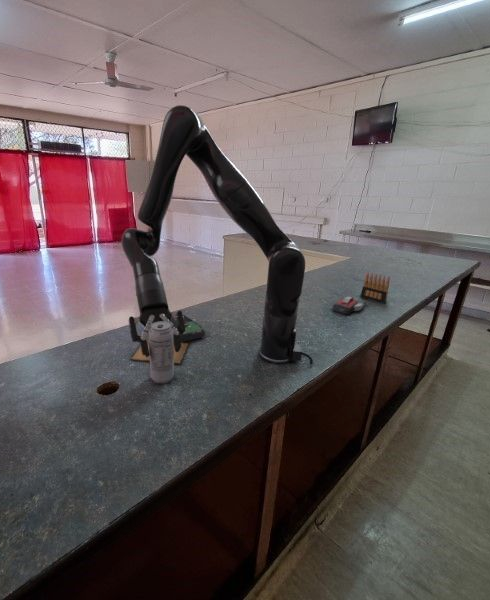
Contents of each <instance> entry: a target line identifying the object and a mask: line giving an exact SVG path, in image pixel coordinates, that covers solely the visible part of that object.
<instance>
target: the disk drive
mask: <svg viewBox="0 0 490 600" xmlns="http://www.w3.org/2000/svg"><path fill="white" fill-rule="evenodd" d="M182 315H183V320H184V325H185V332H184V333H183V335H180V336H179V338H180V342H181V343H183V342H186V341H190V340H194V339H198V338H203V337H205V335H206V330H205V329H204V328H203V326H201V325H199V324H198V323H197V322H195V321H194V320H193V319H192V318H189V316H187V315H185V314H182ZM170 322H171V323H172V324H173V325H174V327H175V328H176V329H177V330H178V326H177V321H175V320H174V318H173V317H171V319H170Z"/></svg>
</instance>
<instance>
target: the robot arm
mask: <svg viewBox="0 0 490 600" xmlns="http://www.w3.org/2000/svg"><path fill="white" fill-rule="evenodd" d="M186 156H187V157H188V158H189V160H190V161H191V162H192V163H193V164H194V165H195V167H196V168H197V169H198V170H199V171H200V173H201V174H202V176H203V178H204V179H205V182H206V183H207V186H208V188H209V190H210V191H211V194H212V195H213V197H214V198H215V200H216V201H217V203H218V205H220V207H221V208H222V210H223V211H224V212H225V213H226V215H227V216H228V217H229V218H230V219H231V220H232V222H234V223H235V224H236V225H237V226H238V227H239V228H240V229H242V230H243V232H245V233H246V234H247V235H248V236H250V237H251V239H253V241H254V242H255V243H256V244H257V246H258V247H259V249H260V250H261V251H262V253H263V255H264V256H265V258H266V260H267V261H268V265H267V266H268V267H267V279H266V287H265V299H264V306H263V307H264V308H263V317H262V318H263V320H262V330H261V338H260V348H259V356H260V357H261V358H262V359H263V360H265V361H267V362H268V363H273V364H285V363H292V362H293V361H299V362H301V361H302V356H304V357H306V358H307V359H308V360H309V364H310V365H313V364H314V361H313V358H312V356H311V355H309V354H308V353H306V352H303V351H302V346H301V344H298V343H297V344H296V337H297V329H296V326H297V320H298V319H297V318H298V312H299V304H300V300H301V299H300V298H301V296H302V291H303V285H304V279H305V274H306V273H305V272H306V257H305V255H304V253H303V251H302V249H301V248H300V247H299V246H298V245H297V244H296V243H295V242H293V240H292V239H291V238H290V237H289V236H288V235H287V234H286V233H285V232H284V230H283V229H282V228H281V227H280V226H279V225H278V224H277V222H276V221H275V219H274V218H273V216H272V215H271V213H270V211H269V209H268V207H267V206H266V204H265V202H264V201H263V199H262V198H261V196H260V195H259V193H258V192H257V190H256V189H255V188H254V186H253V185H252V183H250V182H249V180H248V179H247V178H246V176H245V175H244V174H243V173H242V171H240V169H239V168H238V167H237V166H236V165H235V164H234V163H233V162H232V161H231V160H230V159H229V158H228V157H227V155H225V154H224V152H223V151H222V150H221V149H220V147H219V146H218V144H217V143H216V141H215V140H214V138H213V137H212V135H211V133H210V131H209V129H208V127H207V126H206V125H205V122H204V121H203V119H202V117H200V115H199V114H198V113H196V111H194V110H193V109H192V108H191V107H188V106H187V105H182V104H181V105H179V104H178V105H175V106H173V107H172V108H170V109H169V110H168V111H167V113H166V114H165V116H164V119H163V122H162V126H161V132H160V136H159V142H158V146H157V152H156V157H155V160H154V165H153V168H152V171H151V172H152V173H151V174H150V178H149V181H148V184H147V187H146V191H145V193H144V195H143V198H142V201H141V203H140V206H139V209H138V212H137V219H138V221H139V222H141V223H142V224H144V225H146V226H147V230H142V229H138V228H132V227H130V228H127V229H125V231H124V232H123V233H122V235H121V247H122V251H123V253H124V256H125V257H126V259H127V260H128V263H129V265H130V267H131V268H132V273H133V278H134V285H135V286H134V289H135V296H136V300H137V305H138V310H139V316H137V317H134V316H129V318H128V327H129V332H130V336H131V341H132V342H133V343H139V344H140V346H141V349H142V354H143V355H145V357H149V349H148V344H147V340H146V339H147V337H148V336H149V330H150V328H151V324H152V323H154V322H159V321H165V322H168V323H170V324H171V328H172V329H173V343H174V348H175V352H179V350H180V348H181V343H182V342H180V338H179V336H180V335H183V333H184V332H185V325H184V320H183V315H184V314H183V311H182V310H177V311H175V312H172V311H170V307H169V303H168V298H167V295H166V290H165V286H164V282H163V280H162V277H161V271H160V266H159V263H158V261H157V260H156V258H154V257H153V256H155V255H156V254H157V253H158V251H159V249H160V245H161V235H162V229H163V223H164V219H165V217H166V214H167V212H168V210H169V207H170V206H171V205H170V204H171V202H172V199H173V193H174V188H175V183H176V179H177V176H178V172H179V169H180V167H181V165H182V162H183V160H184V158H185V157H186ZM171 317H173V318H174V320H175V321H177V326H178V330H177V329H176V328H175V327H174V325H173V324H172V323H171V322H170V319H171ZM139 323H140V324H141V325H143V326H144V329H143V331H142V333H141V335H138V330H137V326H138V324H139Z"/></svg>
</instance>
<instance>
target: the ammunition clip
mask: <svg viewBox="0 0 490 600" xmlns="http://www.w3.org/2000/svg"><path fill="white" fill-rule="evenodd" d="M390 280H391V277H390V276H387V278H386V275H383V277H382V274H379V276H378V274H377V273H375V275H374V274H373V272H371V273H370V272H369V271H367V272H366V274H365V278H364V281H363V286H362V288H361V292H360V296H359V297H360V298H363V299H365V300H371V301H374V302H379V303H382V304H386V303H387V299H388V295H389V294H388V293H389V289H390V282H391V281H390Z"/></svg>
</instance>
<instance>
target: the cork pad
mask: <svg viewBox="0 0 490 600" xmlns="http://www.w3.org/2000/svg"><path fill="white" fill-rule="evenodd" d="M146 340H147V344H148V349H149V338H146ZM188 346H189V343H188V342H181V348H180V350H179V352H175V348H174V343H173V348H174V365H181V362H182V359H183V357H184V355H185V352H186V350H187V348H188ZM131 361H140V362H141V361H142V362H150V354H149V357H145V355H143V354H142V349H141V345H140V346H139V347H138V348H137V350H136V352H135V353H134V354H133V356H132V357H131Z"/></svg>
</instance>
